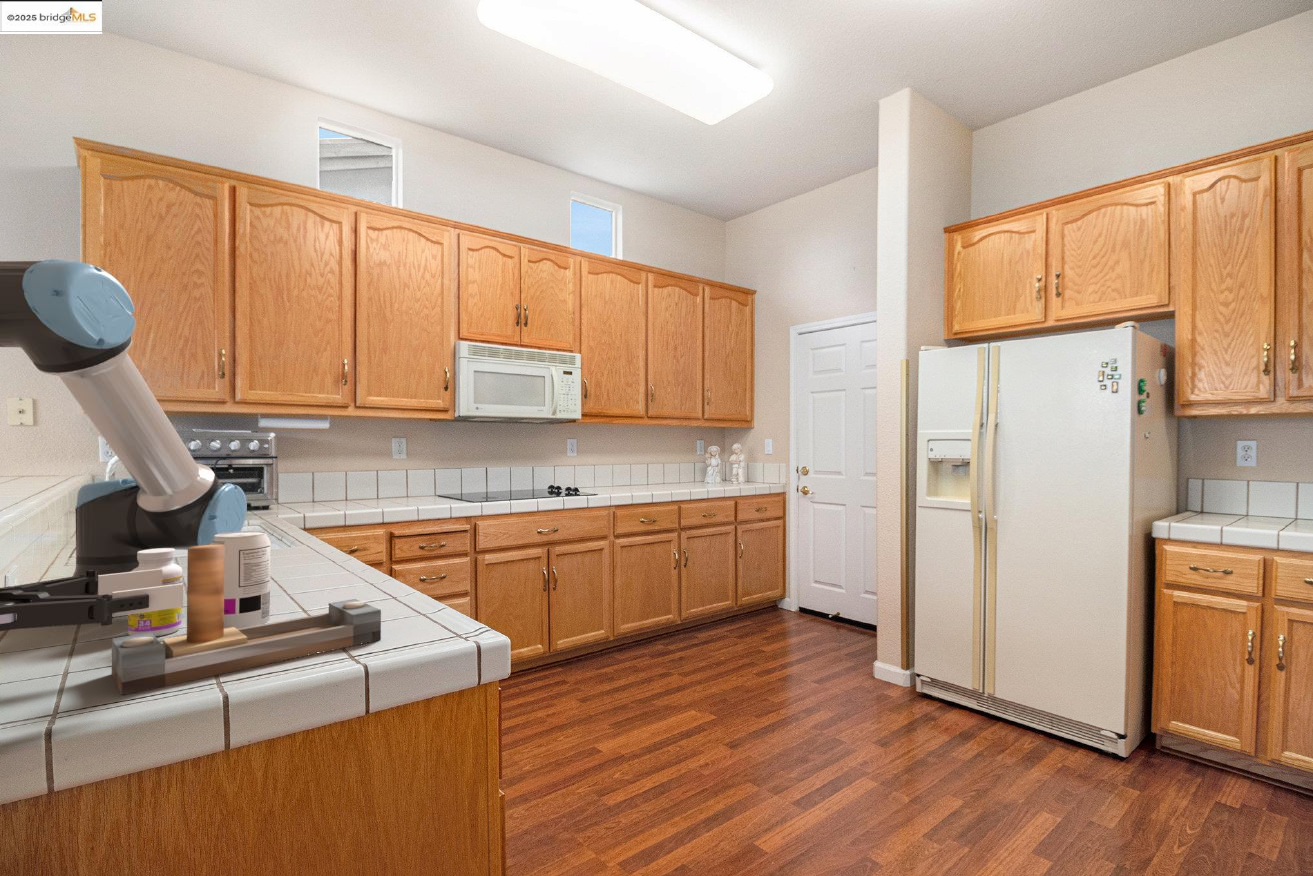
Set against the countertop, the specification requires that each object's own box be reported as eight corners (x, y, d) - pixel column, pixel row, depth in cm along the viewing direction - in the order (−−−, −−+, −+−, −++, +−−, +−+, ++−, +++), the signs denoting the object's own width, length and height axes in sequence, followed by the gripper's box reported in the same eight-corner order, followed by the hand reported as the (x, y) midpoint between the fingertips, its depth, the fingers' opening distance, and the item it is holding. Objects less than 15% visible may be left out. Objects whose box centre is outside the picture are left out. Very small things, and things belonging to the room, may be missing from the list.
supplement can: (205, 637, 98) (206, 538, 98) (213, 624, 105) (214, 532, 105) (267, 630, 101) (268, 535, 101) (271, 618, 109) (271, 529, 109)
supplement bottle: (117, 636, 98) (118, 552, 98) (164, 625, 104) (165, 546, 105) (145, 641, 96) (146, 554, 96) (191, 629, 102) (192, 548, 102)
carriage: (162, 654, 84) (163, 547, 85) (233, 641, 90) (234, 541, 90) (172, 667, 79) (174, 553, 80) (247, 652, 85) (248, 546, 85)
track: (111, 674, 82) (112, 635, 82) (354, 627, 103) (355, 596, 103) (122, 695, 75) (122, 653, 75) (380, 640, 96) (380, 607, 96)
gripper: (-74, 630, 75) (153, 599, 91) (-93, 685, 58) (192, 635, 73) (-73, 566, 75) (154, 546, 91) (-92, 602, 58) (193, 570, 73)
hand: (172, 586), depth 82 cm, fingers open, 13 cm apart
